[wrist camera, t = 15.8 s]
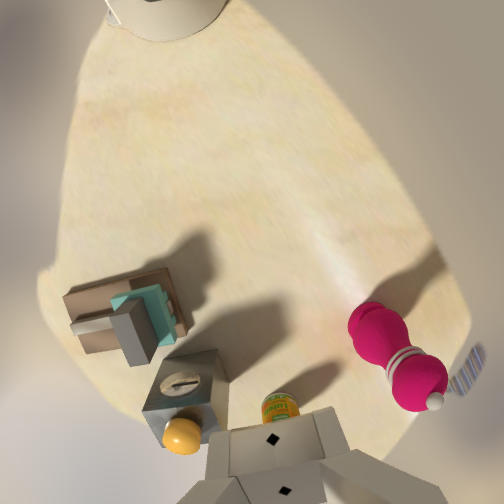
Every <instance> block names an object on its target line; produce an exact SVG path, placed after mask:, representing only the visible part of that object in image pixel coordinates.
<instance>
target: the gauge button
mask: <svg viewBox="0 0 504 504" xmlns="http://www.w3.org/2000/svg"><path fill="white" fill-rule="evenodd" d="M201 435H202V431H201V429H200V427H199V426H198V425H197V424H196V423H195V422H193V421H191V420H188V419H184V418H176V419H172V420H170V421H169V422H168V423H167V424H166V427H165V431H164V434H163V438H162V441H163V444H164V446H165V447H166V448H167V449H168V450H170V451H171V452H174V453H176V454H180V455H190V454H193V453H196V452H197V451H198V450H199V448H200V442H201Z"/></svg>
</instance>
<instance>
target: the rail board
mask: <svg viewBox="0 0 504 504" xmlns="http://www.w3.org/2000/svg"><path fill="white" fill-rule="evenodd" d="M156 284H160V287H161V290H162V292H163V291H166V293H167V295H168V300H167V301H166V304H167V307H168V310H169V313H170V316H172V315H173V314H174V316H175V319H176V323H175V326H174V327H175V330H176V332H177V335H178V337H177V338H179V337H184V336H187V333H188V329H187V326H186V323H185V321H184V318H183V315H182V312H181V309H180V306H179V303H178V300H177V297H176V294H175V291H174V288H173V285H172V282H171V279H170V276H169V272H168V269H167V268H164V269H160V270H156V271H152V272H148V273H144V274H140V275H137V276H133V277H129V278H125V279H121V280H117V281H114V282H110V283H106V284H102V285H98V286H94V287H91V288H87V289H83V290H79V291H75V292H72V293H68V294H66V295H65V296H63V297H62V298H63V300H64V303H65V306H66V308H67V311H68V313H69V316H70V318H71V321H72V323H71V324H70V327H71V329H72V332H73V334H74V335H78V337H79V339H80V342H81V344H82V346H83V348H84V351H85V353H86V354H91V353H97V352H103V351H109V350H115V349H121V346H120V343H119V341H118V339H117V336H116V334H115V331H114V329H113V327H112V324H111V322H110V319H109V317H110V315H111V314H112V313H113V312H114V309H113V307H112V304H111V301H110V299H112V298H113V297H114V296H115V295H116V294H120V293H124V292H128V291H132V290H136V289H140V288H144V287H148V286H152V285H156Z"/></svg>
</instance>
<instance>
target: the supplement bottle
mask: <svg viewBox="0 0 504 504" xmlns="http://www.w3.org/2000/svg"><path fill="white" fill-rule="evenodd" d="M299 415H300V413H299V409H298V405H297V401H296V399H295V398H294V397H293V396H292V395H290V394H287V393H274V394H271V395H270V396H268V397H267V398H266V399H265V400H264V401H263V403H262V419H263V424H265V423H270V422H275V421H279V420H283V419H287V418H291V417H295V416H299Z"/></svg>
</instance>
